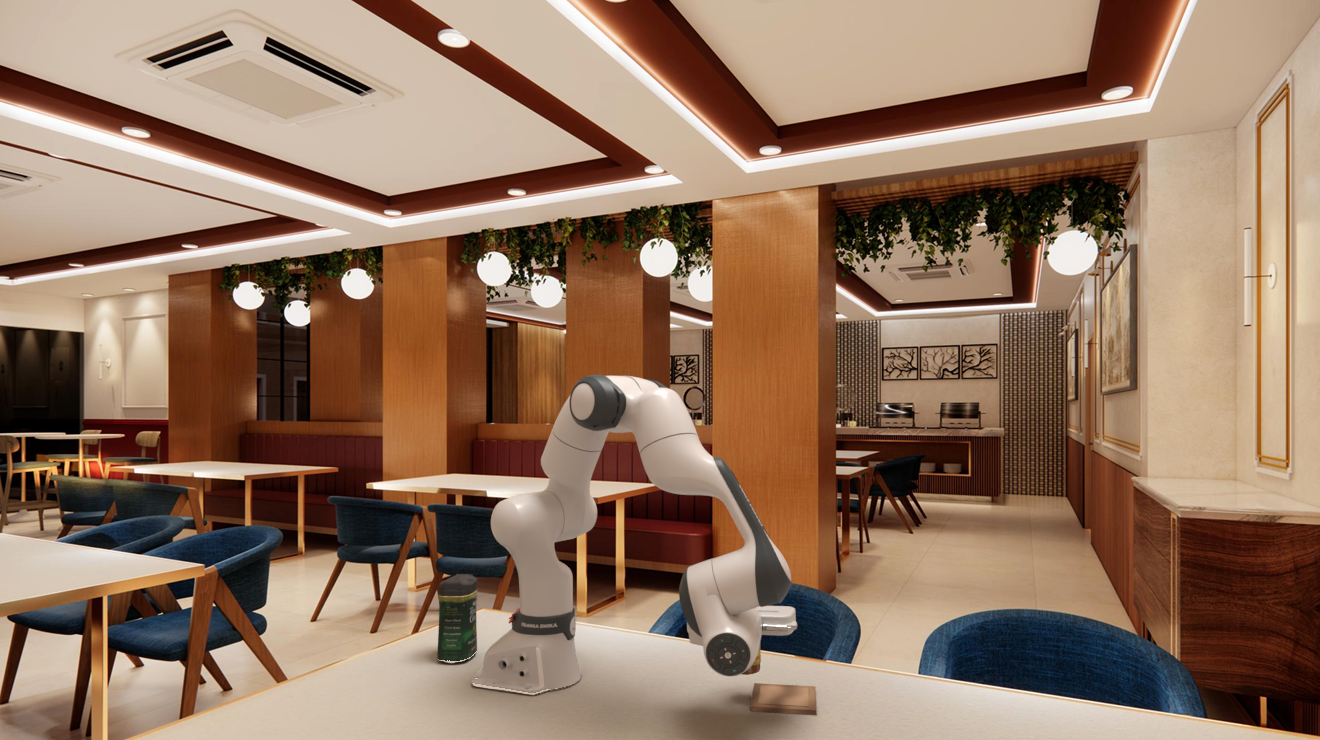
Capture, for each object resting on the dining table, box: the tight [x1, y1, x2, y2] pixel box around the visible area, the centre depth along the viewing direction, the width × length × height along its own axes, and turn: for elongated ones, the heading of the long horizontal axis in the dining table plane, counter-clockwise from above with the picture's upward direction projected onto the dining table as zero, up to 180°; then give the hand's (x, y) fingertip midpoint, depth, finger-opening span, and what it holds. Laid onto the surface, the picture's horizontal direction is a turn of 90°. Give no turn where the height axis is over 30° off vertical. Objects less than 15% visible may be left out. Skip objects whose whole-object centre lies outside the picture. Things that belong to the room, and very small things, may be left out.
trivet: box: [749, 682, 818, 716], centre depth 139 cm, size 12×12×1 cm
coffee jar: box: [436, 573, 478, 661], centre depth 168 cm, size 10×8×19 cm
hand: (743, 607), depth 142 cm, fingers closed on sauce bottle, 6 cm apart
